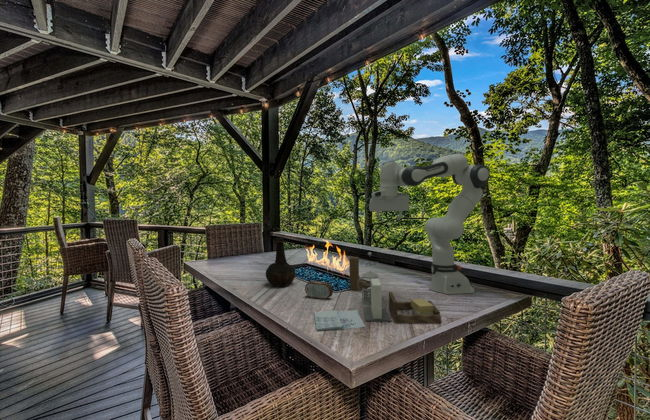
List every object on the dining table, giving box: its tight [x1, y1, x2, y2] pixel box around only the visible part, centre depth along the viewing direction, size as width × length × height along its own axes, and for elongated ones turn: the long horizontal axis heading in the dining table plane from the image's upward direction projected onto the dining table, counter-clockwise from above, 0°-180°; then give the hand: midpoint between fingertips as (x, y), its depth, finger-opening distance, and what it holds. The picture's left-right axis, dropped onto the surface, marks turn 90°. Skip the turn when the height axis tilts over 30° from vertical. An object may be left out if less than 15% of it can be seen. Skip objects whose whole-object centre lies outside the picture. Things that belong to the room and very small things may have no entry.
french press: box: [357, 251, 380, 308], centre depth 152 cm, size 10×12×25 cm
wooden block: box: [348, 256, 368, 292], centre depth 175 cm, size 9×4×18 cm, turn 75°
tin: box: [304, 280, 334, 300], centre depth 162 cm, size 15×3×8 cm, turn 65°
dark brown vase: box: [265, 237, 296, 287], centre depth 190 cm, size 18×18×28 cm
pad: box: [363, 307, 391, 323], centre depth 137 cm, size 10×14×1 cm
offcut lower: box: [412, 308, 433, 315], centre depth 136 cm, size 6×9×3 cm, turn 0°
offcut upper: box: [410, 298, 435, 314], centre depth 136 cm, size 6×9×3 cm, turn 9°
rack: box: [388, 291, 442, 324], centre depth 136 cm, size 18×17×8 cm
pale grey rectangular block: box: [370, 278, 383, 319], centre depth 137 cm, size 4×11×14 cm, turn 176°
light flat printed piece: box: [313, 309, 367, 332], centre depth 132 cm, size 19×20×2 cm
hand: (389, 220), depth 163 cm, fingers open, 8 cm apart
